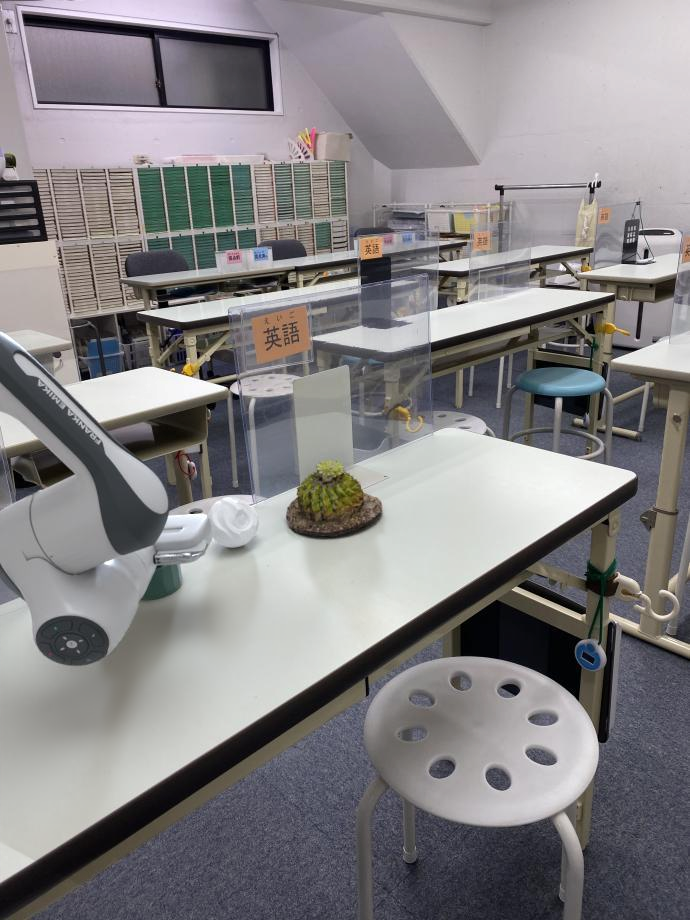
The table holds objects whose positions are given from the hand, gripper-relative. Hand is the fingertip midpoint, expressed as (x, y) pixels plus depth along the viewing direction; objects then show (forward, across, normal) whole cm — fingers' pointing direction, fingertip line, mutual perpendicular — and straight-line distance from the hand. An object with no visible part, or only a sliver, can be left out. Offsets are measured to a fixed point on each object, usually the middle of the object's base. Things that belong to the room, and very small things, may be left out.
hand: (145, 513), depth 95 cm
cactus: (+18, -26, +11) cm, 34 cm away
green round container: (-1, 0, +11) cm, 11 cm away
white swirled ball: (+10, -10, +11) cm, 18 cm away
